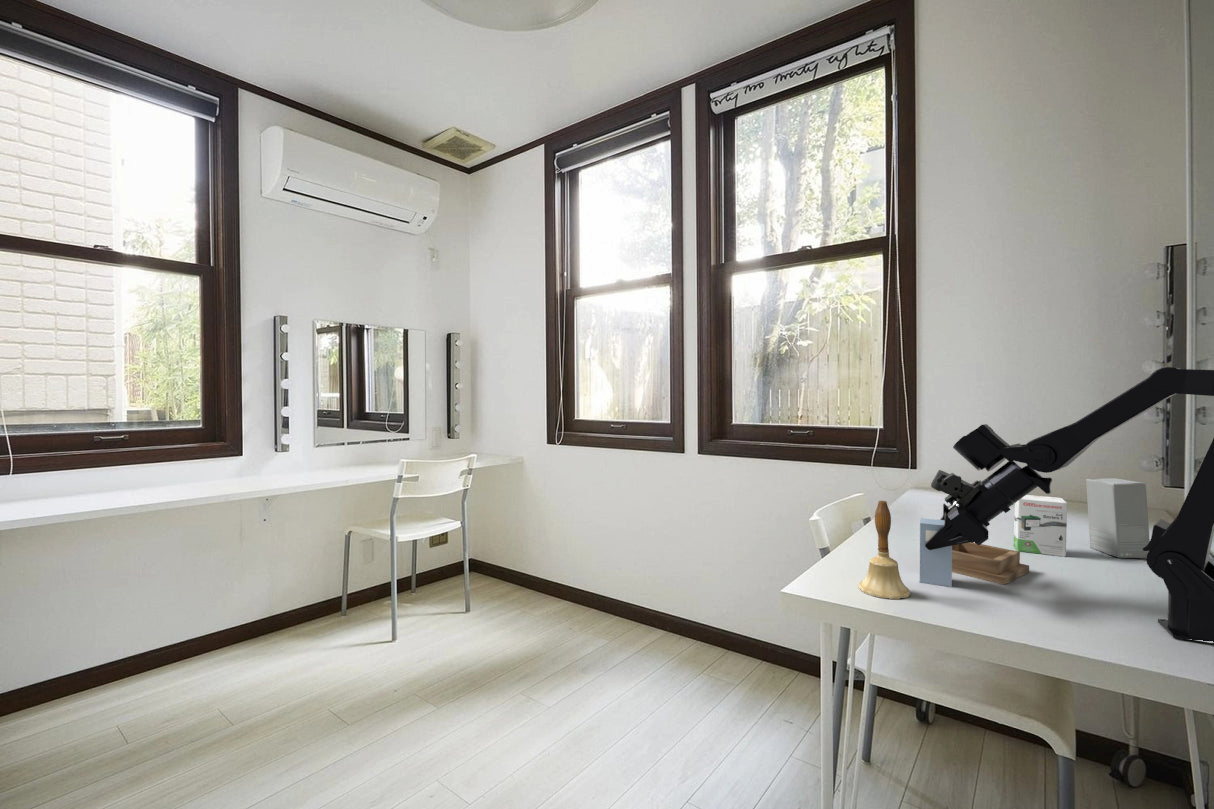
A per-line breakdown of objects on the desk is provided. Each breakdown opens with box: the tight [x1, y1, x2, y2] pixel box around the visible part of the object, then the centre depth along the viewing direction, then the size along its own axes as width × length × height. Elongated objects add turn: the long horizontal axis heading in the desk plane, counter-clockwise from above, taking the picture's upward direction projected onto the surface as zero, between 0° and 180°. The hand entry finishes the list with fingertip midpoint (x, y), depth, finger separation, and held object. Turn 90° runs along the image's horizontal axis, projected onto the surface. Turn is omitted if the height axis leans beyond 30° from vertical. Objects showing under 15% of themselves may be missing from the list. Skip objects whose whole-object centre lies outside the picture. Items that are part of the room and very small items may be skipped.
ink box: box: [1012, 494, 1068, 558], centre depth 119 cm, size 9×5×12 cm, turn 60°
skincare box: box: [1085, 477, 1151, 559], centre depth 117 cm, size 8×7×16 cm
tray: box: [952, 542, 1030, 585], centre depth 108 cm, size 12×14×4 cm
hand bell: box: [857, 500, 911, 600], centre depth 97 cm, size 8×8×16 cm
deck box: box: [919, 517, 953, 588], centre depth 101 cm, size 5×5×11 cm
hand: (926, 544), depth 102 cm, fingers closed on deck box, 5 cm apart
